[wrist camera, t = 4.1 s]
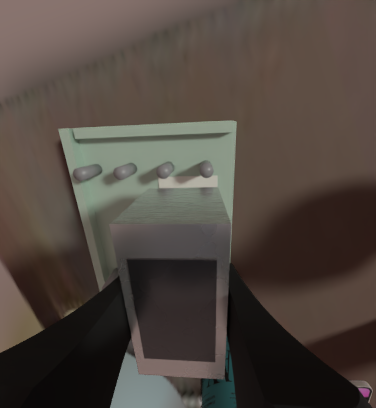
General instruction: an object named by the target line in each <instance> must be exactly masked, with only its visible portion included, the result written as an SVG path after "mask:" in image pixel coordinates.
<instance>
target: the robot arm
mask: <svg viewBox="0 0 376 408" xmlns="http://www.w3.org/2000/svg"><path fill="white" fill-rule="evenodd" d="M227 338H228V343H229V349H230V354H231V361H232V369H233V378H234V387H235V396H236V405H237V408H372V407H371V405H370V404H369V403H368V401H367V400H366V399H365V397H364V396H363V395H362V393H361V392H360V390H359V389H358V387H356V386H355V385H354V384H352V383H351V382H350V381H348V380H347V379H345V378H344V377H343V376H341V375H340V374H339V373H337V372H336V371H335V370H333V369H332V368H331V367H329V366H328V365H326V364H325V363H324V362H323V361H321V360H320V359H319V358H318V357H316V356H315V355H314V354H313V353H311V352H310V351H309V350H308V349H306V348H305V347H304V346H303V345H302V344H301V343H300V342H299V341H297V340H296V339H295V338H294V337H293V336H292V335H291V334H290V333H288V332H287V331H286V330H285V329H284V328H283V327H282V326H281V325H280V324H279V323H278V322H277V321H276V320H275V319H274V318H273V317H272V316H271V315H270V314H269V313H268V311H267V310H266V309H265V308H264V307H263V306H262V305H261V304H260V302H259V301H258V300H257V299H256V298H255V296H254V295H253V294H252V292H251V291H250V290H249V288H248V287H247V286H246V284H245V283H244V282H243V280H242V279H241V277H240V276H239V274H238V273H237V271H236V269H235V268H234V266H233V265H232V264H231V263H230V265H229V288H228V310H227ZM130 339H131V332H130V326H129V321H128V316H127V311H126V306H125V301H124V296H123V291H122V286H121V281H120V276H118V277H117V278H116V279H115V280H113V281H112V282H111V283H110V284H109V285H108V286H107V287H105V288H104V289H103V290H102V291H100V292H99V293H98V294H97V295H95V296H94V297H93V298H92V299H90V300H89V301H88V302H86V303H85V304H84V305H82V306H81V307H79V308H78V309H77V310H75V311H74V312H72V313H71V314H69V315H68V316H66V317H64V318H63V319H61V320H60V321H58V322H56V323H55V324H53V325H52V326H50V327H48V328H47V329H45V330H43V331H41V332H40V333H38V334H36V335H34V336H32V337H31V338H29V339H27V340H25V341H23V342H21V343H19V344H18V345H15V346H13V347H12V348H9V349H8V350H5V351H3V352H1V353H0V408H110V405H111V401H112V398H113V394H114V390H115V387H116V383H117V379H118V376H119V373H120V369H121V365H122V362H123V359H124V355H125V352H126V350H127V347H128V344H129V341H130Z"/></svg>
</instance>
